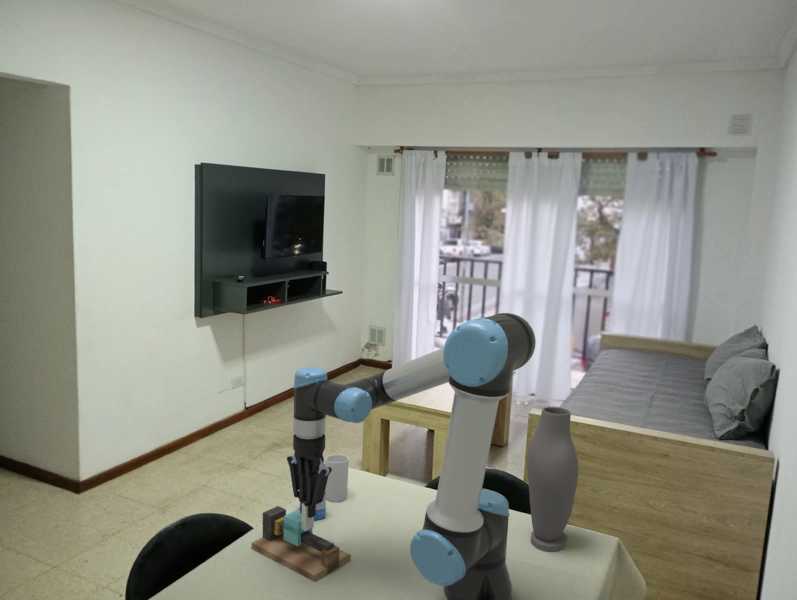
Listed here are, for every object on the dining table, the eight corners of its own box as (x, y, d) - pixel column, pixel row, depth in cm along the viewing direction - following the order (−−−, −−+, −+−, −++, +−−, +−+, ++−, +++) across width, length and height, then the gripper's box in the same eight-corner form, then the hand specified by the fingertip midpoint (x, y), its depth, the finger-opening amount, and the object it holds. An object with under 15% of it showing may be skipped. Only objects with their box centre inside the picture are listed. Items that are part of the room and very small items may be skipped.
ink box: (326, 518, 175) (327, 467, 173) (308, 522, 173) (309, 469, 171) (316, 505, 183) (317, 455, 181) (299, 508, 181) (300, 458, 179)
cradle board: (350, 560, 155) (351, 529, 154) (314, 581, 145) (315, 548, 144) (287, 529, 168) (287, 501, 167) (250, 547, 159) (250, 517, 158)
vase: (571, 558, 159) (581, 421, 155) (518, 548, 163) (527, 414, 159) (574, 535, 171) (584, 407, 167) (525, 526, 175) (533, 401, 171)
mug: (346, 503, 185) (347, 463, 183) (322, 501, 185) (323, 462, 183) (350, 488, 195) (351, 450, 193) (328, 487, 195) (329, 449, 193)
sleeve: (312, 538, 157) (312, 515, 156) (297, 546, 153) (298, 522, 152) (298, 532, 160) (298, 509, 159) (283, 539, 156) (283, 516, 155)
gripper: (340, 436, 150) (338, 531, 153) (301, 423, 158) (300, 514, 161) (317, 444, 144) (315, 543, 147) (278, 431, 152) (277, 524, 155)
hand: (307, 528), depth 154 cm, fingers closed
